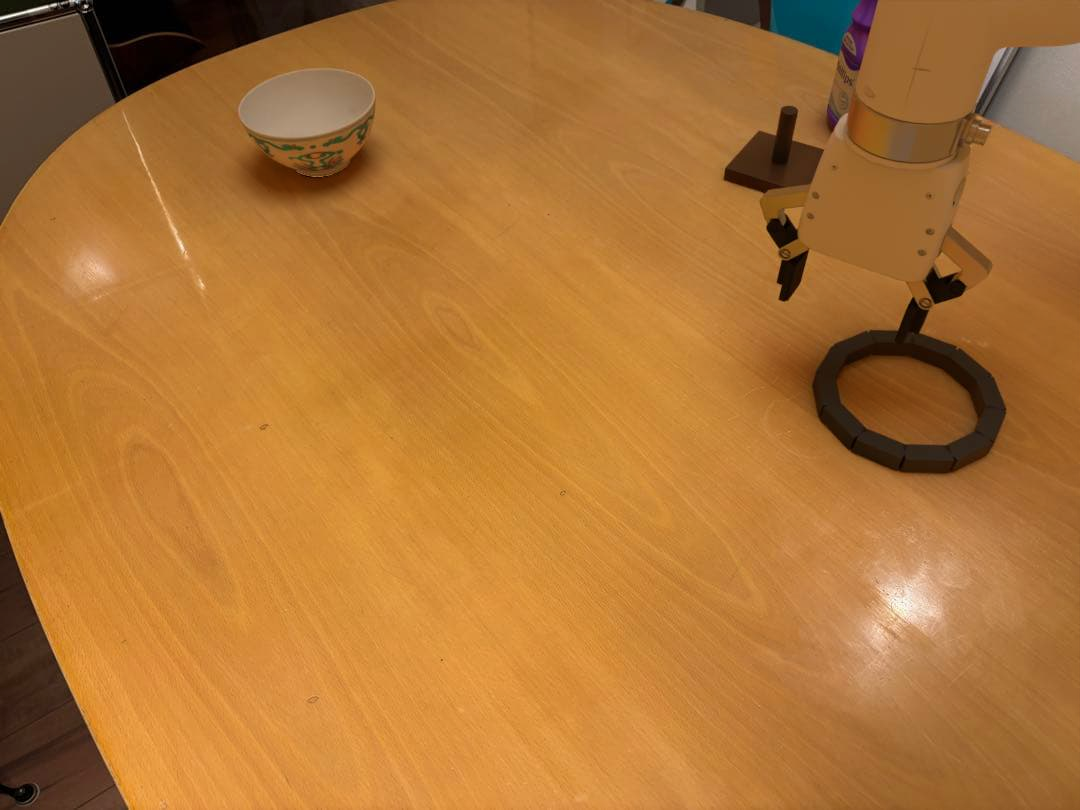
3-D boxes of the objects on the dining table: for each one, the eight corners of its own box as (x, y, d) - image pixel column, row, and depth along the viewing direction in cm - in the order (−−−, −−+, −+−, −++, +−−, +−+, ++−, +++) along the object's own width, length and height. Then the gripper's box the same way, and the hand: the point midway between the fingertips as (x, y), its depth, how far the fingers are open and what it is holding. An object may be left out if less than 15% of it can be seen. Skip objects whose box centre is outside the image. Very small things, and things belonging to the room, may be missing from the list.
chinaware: (237, 195, 98) (216, 133, 92) (284, 124, 108) (267, 65, 102) (365, 203, 96) (351, 141, 90) (400, 131, 106) (390, 70, 100)
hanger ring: (1016, 382, 75) (1024, 370, 74) (968, 501, 67) (975, 489, 66) (850, 322, 81) (854, 309, 80) (786, 424, 73) (790, 412, 72)
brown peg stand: (830, 163, 98) (846, 102, 93) (800, 203, 93) (814, 141, 88) (756, 141, 102) (767, 81, 96) (723, 179, 97) (732, 117, 91)
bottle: (817, 113, 106) (850, -37, 93) (863, 109, 106) (902, -42, 93) (837, 145, 101) (875, -9, 88) (885, 140, 101) (930, -13, 88)
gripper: (1055, 131, 57) (966, 324, 70) (804, 66, 64) (764, 253, 76) (1027, 187, 53) (938, 382, 66) (762, 111, 60) (727, 301, 72)
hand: (844, 312), depth 71 cm, fingers open, 9 cm apart
